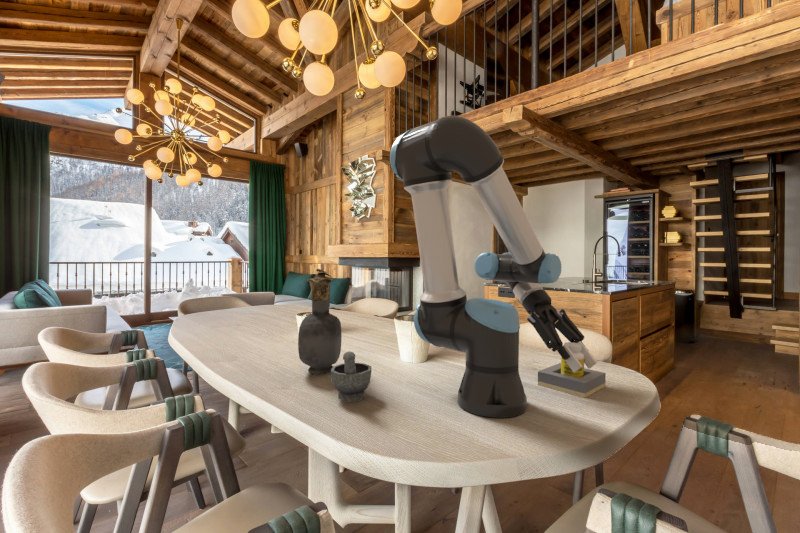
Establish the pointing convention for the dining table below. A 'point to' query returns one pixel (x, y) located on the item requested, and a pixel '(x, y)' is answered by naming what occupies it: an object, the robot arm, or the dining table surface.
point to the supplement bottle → (576, 351)
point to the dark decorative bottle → (320, 329)
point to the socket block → (571, 381)
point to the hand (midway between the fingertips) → (585, 367)
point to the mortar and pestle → (351, 378)
